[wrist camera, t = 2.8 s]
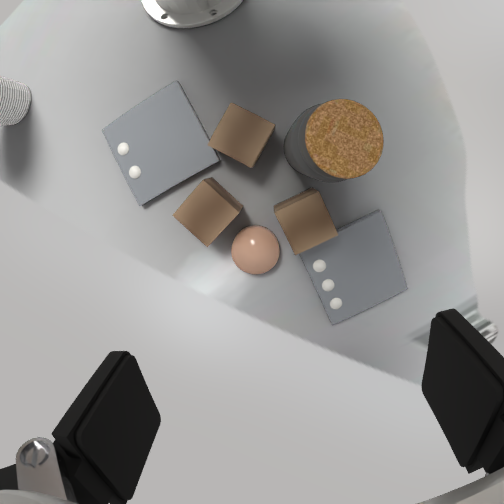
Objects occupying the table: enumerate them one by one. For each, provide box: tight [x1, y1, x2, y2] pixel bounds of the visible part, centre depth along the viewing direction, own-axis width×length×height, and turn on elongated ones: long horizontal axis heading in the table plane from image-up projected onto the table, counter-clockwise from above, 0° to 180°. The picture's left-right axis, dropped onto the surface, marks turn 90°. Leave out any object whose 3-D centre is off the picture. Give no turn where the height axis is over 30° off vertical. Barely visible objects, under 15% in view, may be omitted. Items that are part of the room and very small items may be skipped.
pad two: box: [102, 80, 221, 206], centre depth 31 cm, size 10×10×1 cm
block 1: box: [207, 103, 275, 168], centre depth 29 cm, size 4×4×4 cm
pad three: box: [299, 210, 408, 325], centre depth 34 cm, size 10×10×1 cm
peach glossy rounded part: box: [231, 225, 279, 274], centre depth 34 cm, size 5×5×2 cm
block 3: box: [274, 188, 338, 255], centre depth 31 cm, size 4×4×4 cm
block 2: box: [173, 177, 243, 247], centre depth 31 cm, size 4×4×4 cm
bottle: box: [284, 99, 383, 182], centre depth 24 cm, size 6×6×15 cm
